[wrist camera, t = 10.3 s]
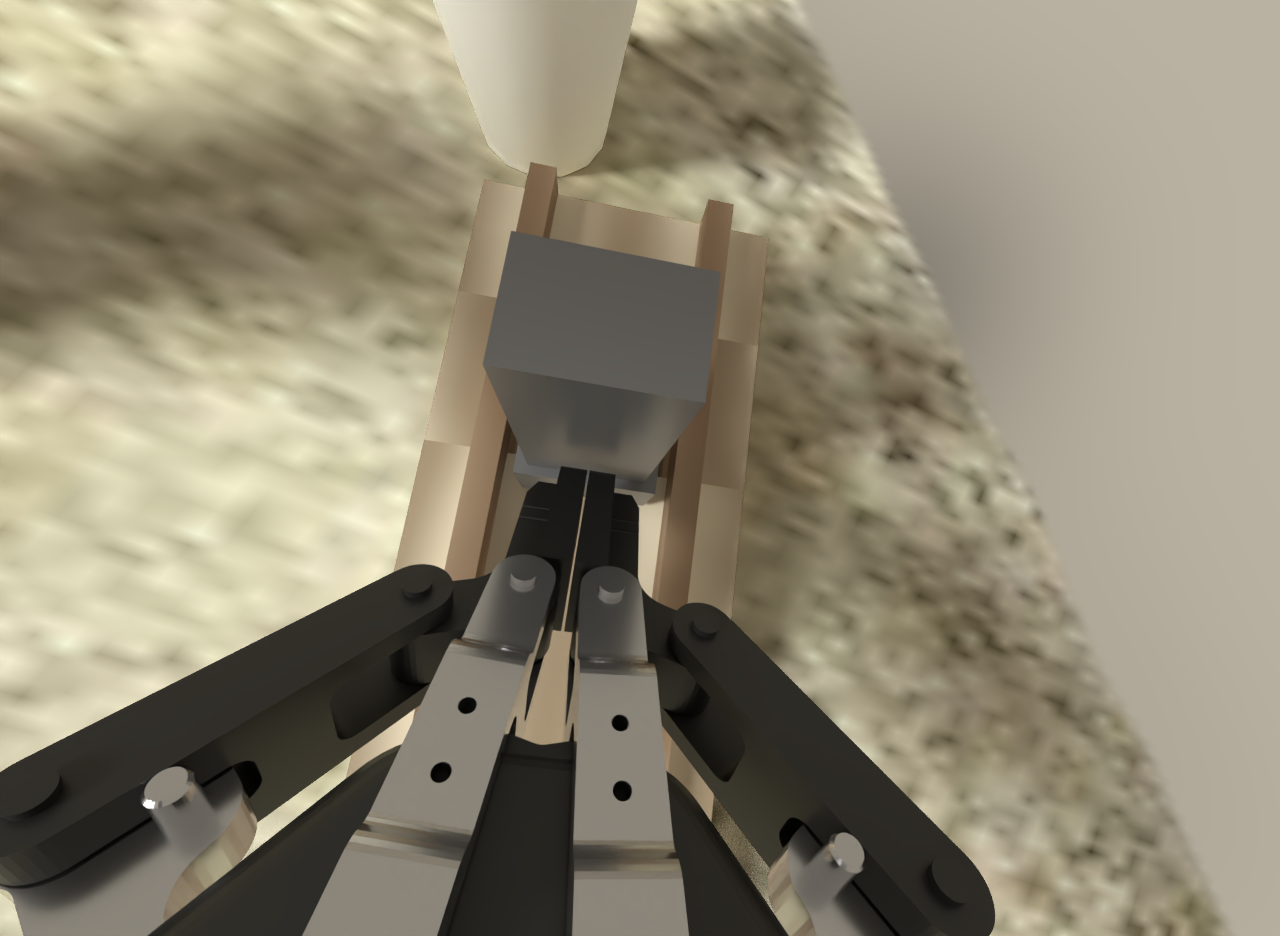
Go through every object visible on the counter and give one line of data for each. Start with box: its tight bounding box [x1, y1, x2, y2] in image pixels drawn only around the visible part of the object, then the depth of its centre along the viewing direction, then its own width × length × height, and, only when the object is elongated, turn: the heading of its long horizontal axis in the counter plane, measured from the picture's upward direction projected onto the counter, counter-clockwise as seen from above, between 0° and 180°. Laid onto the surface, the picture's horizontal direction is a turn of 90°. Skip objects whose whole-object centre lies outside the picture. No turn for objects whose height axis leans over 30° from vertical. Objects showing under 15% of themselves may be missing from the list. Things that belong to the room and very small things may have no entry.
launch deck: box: [346, 162, 769, 821], centre depth 20 cm, size 12×30×6 cm, turn 172°
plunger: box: [483, 231, 721, 506], centre depth 14 cm, size 4×3×11 cm
